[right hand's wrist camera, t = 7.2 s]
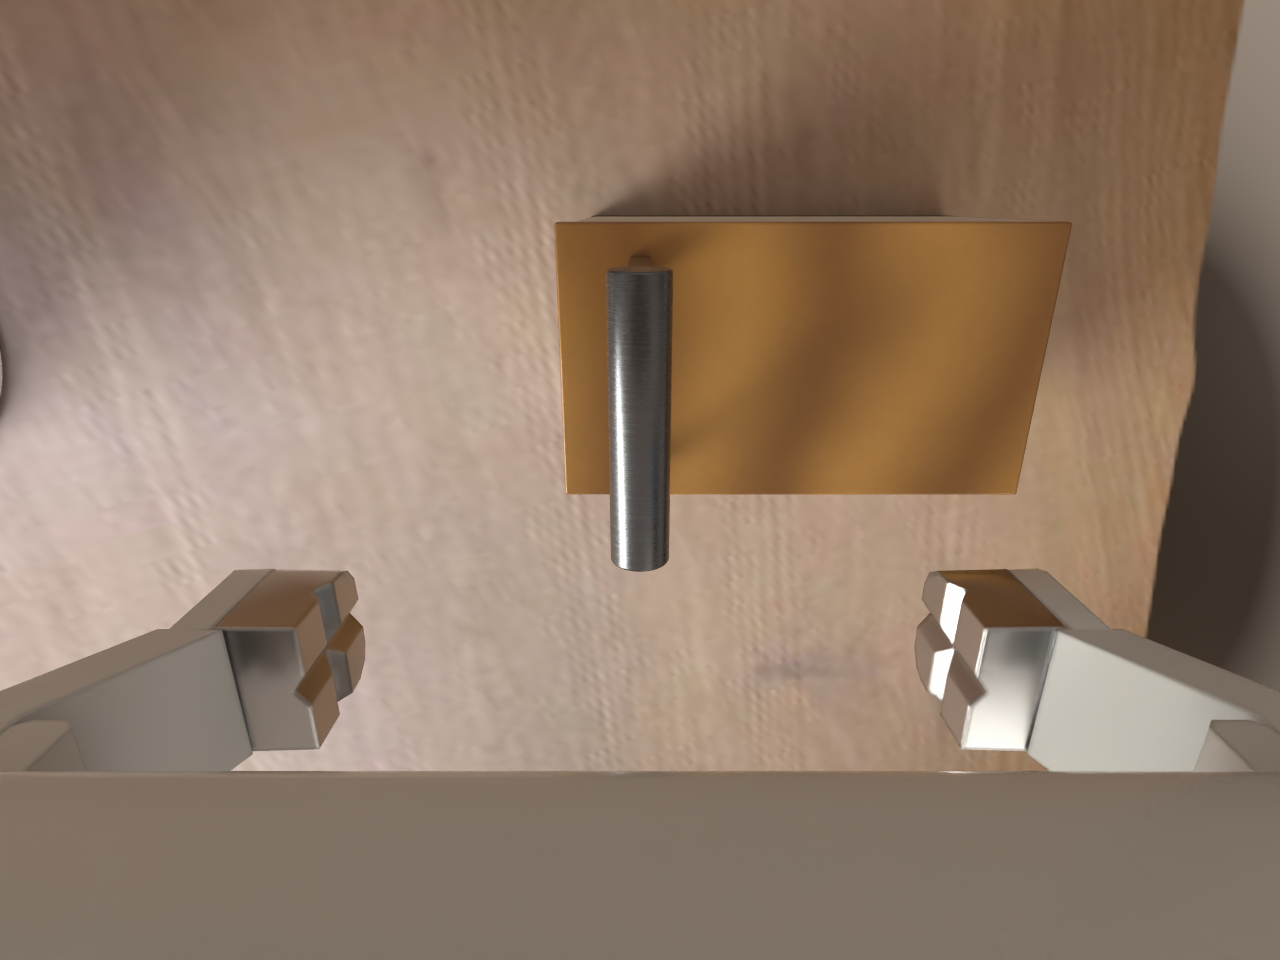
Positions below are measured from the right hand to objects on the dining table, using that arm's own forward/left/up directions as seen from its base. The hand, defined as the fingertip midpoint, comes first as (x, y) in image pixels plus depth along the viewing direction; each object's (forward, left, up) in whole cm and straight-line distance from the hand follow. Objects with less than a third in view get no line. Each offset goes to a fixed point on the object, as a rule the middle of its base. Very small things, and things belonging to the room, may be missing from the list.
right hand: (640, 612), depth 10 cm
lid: (+3, +5, -17) cm, 18 cm away
